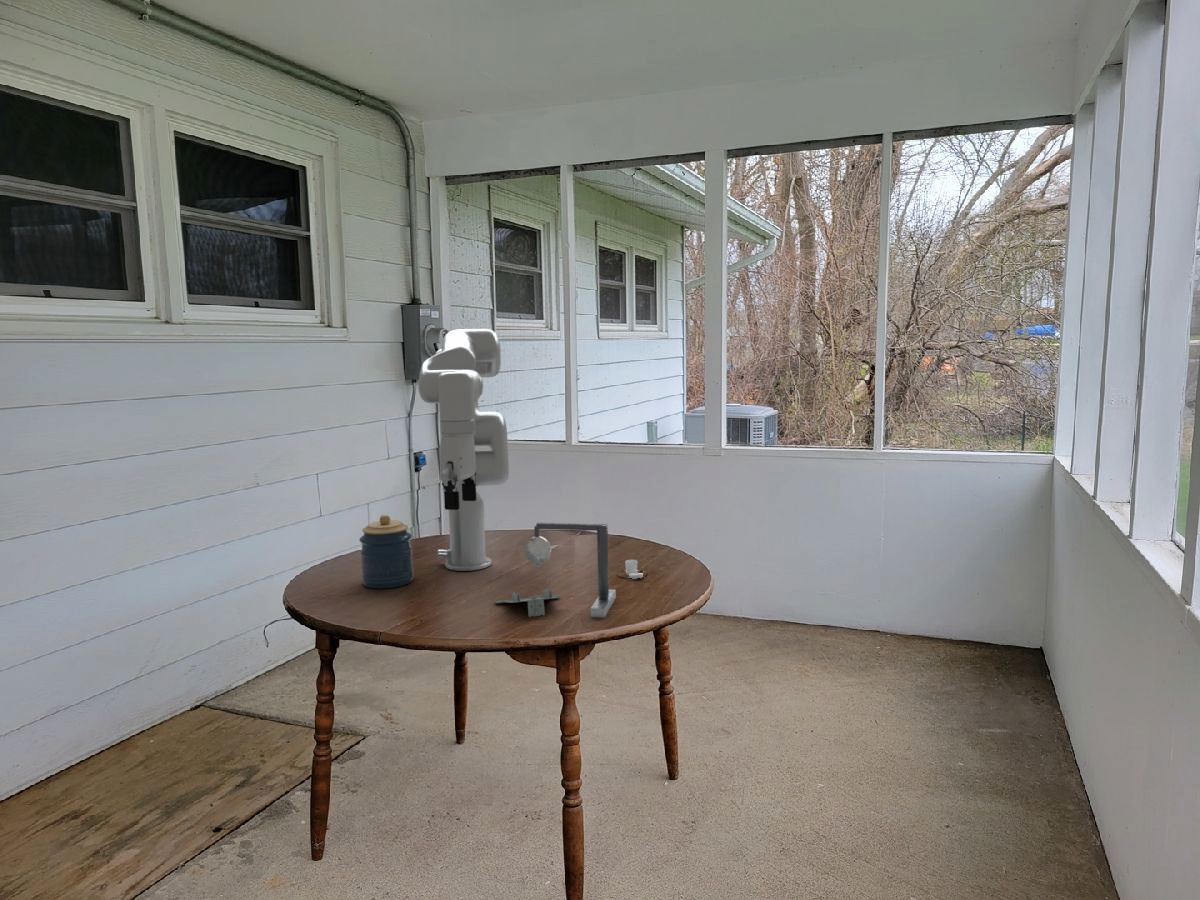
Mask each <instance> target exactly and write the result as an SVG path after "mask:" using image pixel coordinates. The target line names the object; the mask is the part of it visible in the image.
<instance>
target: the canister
mask: <svg viewBox="0 0 1200 900" xmlns="http://www.w3.org/2000/svg"><path fill="white" fill-rule="evenodd" d="M408 530H409V525H407V524H405V523H403V522H402V521H401V520H394V519H393V520H392V519H391V518H390V516H389V515H388V514H383V515H382V514H381V516H380V517H379V520H378V521H374V522H370V523H368V524H367V526H364V527H363V528H362V529H361V531H362V532H363V535H362V536H360V537H359V539H358V540H359V542H360V543H361V550H360V552H359V554H360V563H361V575H360V576H361V581H362V585H363V586H364V587H366V588H369V589H370V588H371V589H391V588H398V587H403V586H405V585H407V584H410V583H411V582H413V579H414V574H415V573H414V568H413V567H414V566H413V546H412V545H411V539H412V538H413V535H412V533H411V532H409V531H408Z"/></svg>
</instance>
